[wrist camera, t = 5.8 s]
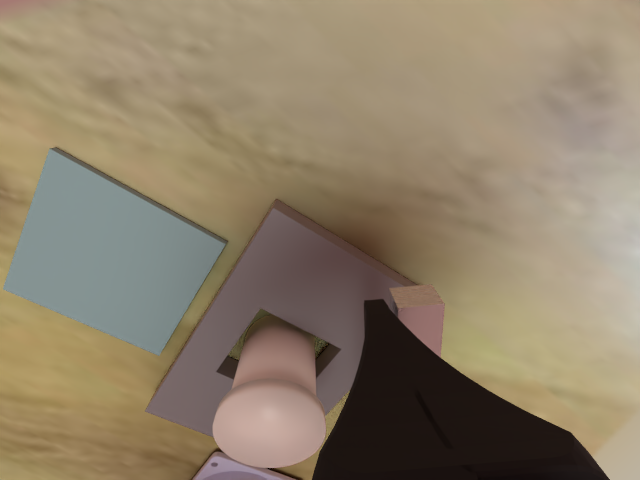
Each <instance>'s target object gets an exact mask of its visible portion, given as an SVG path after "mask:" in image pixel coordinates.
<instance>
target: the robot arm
mask: <svg viewBox="0 0 640 480" xmlns="http://www.w3.org/2000/svg"><path fill="white" fill-rule="evenodd" d="M364 333H365V339H364V344H363V349H362V354H361V358H360V362H359V366H358V369H357V373H356V376H355V379H354V382H353V384H352V387H351V390H350V393H349V395H348V398H347V400H346V402H345V405H344V407H343V409H342V411H341V413H340V415H339V418H338V420H337V422H336V424H335V426H334V428H333V430H332V431H331V433H330V435H329V437H328V439H327V440H326V442H325V444H324V446H323V447H322V449H321V451H320V453H319V457H318V460H317V464H316V467H315V470H314V474H313V478H312V480H610V479H609V478H608V477H607V476H606V474H605V473H604V472H603V470H602V469H601V468H600V467H599V465H598V464H597V463H596V461H595V460H594V459H593V458H592V456H591V455H590V454H589V452H588V451H587V450H586V449H585V448H584V447H583V446H582V444H581V443H580V442H579V441H578V440H577V439H576V438H575V437H574V435H573V434H572V433H571V432H569V431H567V430H564V429H562V428H560V427H558V426H556V425H554V424H552V423H550V422H547V421H545V420H543V419H541V418H539V417H537V416H535V415H533V414H530V413H528V412H526V411H524V410H522V409H521V408H519V407H517V406H515V405H513V404H511V403H510V402H508V401H506V400H504V399H502V398H500V397H499V396H497V395H495V394H493V393H492V392H490V391H488V390H487V389H485V388H483V387H482V386H480V385H479V384H477V383H476V382H474V381H472V380H471V379H469V378H468V377H466V376H465V375H463V374H462V373H460V372H459V371H457V370H456V369H455V368H453V367H452V366H451V365H449V364H448V363H447V362H445V361H444V360H443V359H441V358H440V357H439V356H438V355H437V354H435V353H434V352H433V351H432V350H431V349H430V348H428V347H427V346H426V345H425V344H424V343H423V342H422V341H421V340H419V339H418V338H417V337H416V336H415V335H414V334H413V333H412V332H411V331H410V330H409V329H408V328H407V327H406V326H405V325H404V324H403V323H402V322H401V321H400V320H399V318H398V317H397V316H396V315H395V314H394V313H393V312H392V311H391V310H390V308H389V307H388V305H387V304H386V302H385V301H384V299H376V300H364ZM192 480H296V479H293V478H291V477H288V476H285V475H282V474H280V473H277V472H274V471H271V470H269V469H266V468H261V467H254V466H250V465H246V464H243V463H241V462H238V461H236V460H234V459H233V458H231V457H229V456H228V455H227V454H225V453H222V452H214V453H213V454H212V455H211V456H210V458H209V459H208V460H207V461H206V463H205V464H204V465H203V466H202V468H201V469H200V470H199V471H198V473H197V474H196V475H195V476H194V478H193V479H192Z"/></svg>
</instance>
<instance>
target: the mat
mask: <svg viewBox="0 0 640 480" xmlns="http://www.w3.org/2000/svg"><path fill="white" fill-rule="evenodd" d="M226 243H227V241H226V240H224V239H222V238H220V237H218V236H216V235H215V234H213V233H211V232H209V231H207V230H206V229H204V228H202V227H200V226H198V225H196V224H195V223H193V222H191V221H189V220H187V219H185V218H184V217H182V216H180V215H178V214H176V213H175V212H173V211H171V210H169V209H167V208H165V207H164V206H162V205H160V204H158V203H156V202H154V201H153V200H151V199H149V198H147V197H145V196H144V195H142V194H140V193H138V192H136V191H134V190H133V189H131V188H129V187H127V186H125V185H123V184H122V183H120V182H118V181H116V180H114V179H113V178H111V177H109V176H107V175H105V174H103V173H102V172H100V171H98V170H96V169H94V168H92V167H91V166H89V165H87V164H85V163H83V162H82V161H80V160H78V159H76V158H74V157H72V156H71V155H69V154H67V153H65V152H63V151H61V150H60V149H58V148H50V149H49V152H48V155H47V158H46V161H45V164H44V167H43V170H42V173H41V176H40V179H39V182H38V185H37V188H36V191H35V194H34V197H33V200H32V203H31V206H30V209H29V212H28V215H27V218H26V221H25V224H24V227H23V230H22V233H21V236H20V239H19V242H18V245H17V248H16V251H15V254H14V257H13V260H12V263H11V266H10V269H9V272H8V275H7V278H6V281H5V284H4V287H3V289H4V290H6V291H8V292H11V293H13V294H15V295H18V296H20V297H22V298H25V299H27V300H29V301H32V302H34V303H36V304H39V305H41V306H43V307H46V308H48V309H50V310H53V311H55V312H57V313H60V314H62V315H65V316H67V317H69V318H72V319H74V320H76V321H79V322H81V323H83V324H86V325H88V326H90V327H93V328H95V329H97V330H100V331H102V332H104V333H107V334H109V335H111V336H114V337H116V338H118V339H121V340H123V341H126V342H128V343H130V344H133V345H135V346H137V347H140V348H142V349H144V350H147V351H149V352H151V353H154V354H156V355H158V356H159V355H160V353H161V352H162V350H163V348H164V347H165V345H166V343H167V342H168V340H169V338H170V337H171V335H172V333H173V332H174V330H175V328H176V327H177V325H178V323H179V322H180V320H181V318H182V317H183V315H184V313H185V312H186V310H187V308H188V307H189V305H190V303H191V301H192V300H193V298H194V296H195V295H196V293H197V291H198V290H199V288H200V286H201V285H202V283H203V281H204V280H205V278H206V276H207V275H208V273H209V271H210V270H211V268H212V266H213V265H214V263H215V261H216V260H217V258H218V256H219V255H220V253H221V251H222V250H223V248H224V246H225V245H226Z"/></svg>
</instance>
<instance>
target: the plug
mask: <svg viewBox="0 0 640 480" xmlns="http://www.w3.org/2000/svg"><path fill="white" fill-rule="evenodd" d="M325 434H326V424H325V412H324V408H323V405H322V403H321V402H320V400H319V399H318V398H317V396H316V368H315V339H314V335H313V334H311V333H309V332H307V331H305V330H303V329H301V328H299V327H297V326H295V325H293V324H291V323H289V322H287V321H285V320H283V319H281V318H279V317H277V316H275V315H268V316H265V317H262V318H260V319H259V320H257V321H256V322H254V323H253V324H252V325H251V327H250V328H249V329H248V331H247V334H246V337H245V341H244V344H243V348H242V352H241V356H240V359H239V363H238V367H237V371H236V374H235V378H234V382H233V385H232V389H231V390H230V391H229V392H228V393H227V394H226V395H225V396H224V397H223V398H222V400H221V401H220V403H219V406H218V408H217V412H216V415H215V418H214V422H213V436H214V439H215V442H216V443H217V445H218V446H219V448H220V449H221V450H222V451H223V452H224V453H225V454H227V455H228V456H229V457H231V458H233V459H234V460H236V461H238V462H241V463H243V464H246V465H250V466H254V467H261V468H279V467H286V466H290V465H294V464H297V463H299V462H301V461H303V460H305V459H307V458H309V457H310V456H312V455H313V454H314V453H315V452H316V451H317V450H318V449H319V448H320V446H321V445H322V443H323V441H324V438H325Z"/></svg>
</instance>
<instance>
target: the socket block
mask: <svg viewBox="0 0 640 480" xmlns="http://www.w3.org/2000/svg"><path fill="white" fill-rule="evenodd" d="M408 286H418V285H416V284H415V283H413V282H412V281H410V280H408V279H407V278H405V277H403V276H402V275H400V274H398V273H397V272H395V271H394V270H392V269H390V268H389V267H387V266H385V265H384V264H382V263H380V262H379V261H377V260H375V259H374V258H372V257H371V256H369V255H367V254H366V253H364V252H362V251H361V250H359V249H357V248H356V247H354V246H353V245H351V244H349V243H348V242H346V241H344V240H343V239H341V238H339V237H338V236H336V235H334V234H333V233H331V232H330V231H328V230H326V229H325V228H323V227H321V226H320V225H318V224H316V223H315V222H313V221H312V220H310V219H308V218H307V217H305V216H303V215H302V214H300V213H298V212H297V211H295V210H294V209H292V208H290V207H289V206H287V205H285V204H284V203H282V202H280V201H279V200H277V199H276V200H275V202H274V203H273V205H272V206H271V208H270V210H269V211H268V213H267V214H266V216H265V218H264V219H263V221H262V222H261V224H260V225H259V227H258V229H257V230H256V232H255V233H254V235H253V237H252V238H251V240H250V241H249V243H248V245H247V246H246V248H245V249H244V251H243V253H242V254H241V256H240V257H239V259H238V261H237V262H236V264H235V265H234V267H233V269H232V270H231V272H230V273H229V275H228V276H227V278H226V280H225V281H224V283H223V284H222V286H221V288H220V289H219V291H218V292H217V294H216V296H215V297H214V299H213V300H212V302H211V304H210V305H209V307H208V308H207V310H206V312H205V313H204V315H203V316H202V318H201V319H200V321H199V323H198V324H197V326H196V327H195V329H194V331H193V332H192V334H191V335H190V337H189V339H188V340H187V342H186V343H185V345H184V347H183V348H182V350H181V351H180V353H179V355H178V356H177V358H176V359H175V361H174V363H173V364H172V366H171V367H170V369H169V370H168V372H167V374H166V375H165V377H164V378H163V380H162V382H161V383H160V385H159V386H158V388H157V390H156V391H155V393H154V395H153V397H152V399H151V401H150V402H149V404H148V406H147V408H146V410H145V412H148V413H150V414H153V415H156V416H158V417H161V418H164V419H166V420H169V421H172V422H174V423H177V424H180V425H182V426H185V427H187V428H190V429H193V430H195V431H198V432H201V433H203V434H206V435H209V436H211V437H214V436H213V422H214V418H215V415H216V412H217V408H218V406H219V403H220V401H221V400H222V398H223V397H224V396H225V395H226V394H227V393H228V392H229V391H230V390H231V389H232V385H233V382H234V378H235V374H236V371H237V367H238V363H239V361H237V360H235V359H233V358H230V357H228V356H227V355H228V354H229V352H230V351H231V350H232V348H233V347H234V345H235V344H236V342H237V341H238V340H239V338H240V337H241V335H242V334H243V332H244V331H245V330H246V328H247V327H248V325H249V324H250V323H251V321H252V320H253V318H254V317H255V315H256V314H257V313H258V311H259V310H260V308H261V309H263V310H265V311H267V312H269V313H271V314H273V315H275V316H277V317H279V318H281V319H283V320H285V321H287V322H289V323H291V324H293V325H295V326H297V327H299V328H301V329H303V330H305V331H307V332H309V333H311V334H313V335H315V336H317V337H319V338H320V339H322V340H324V341H326V342H328V343H330V344H329V345H328V346H327V347H326V349H325V350H324V351H323V352H322V353H321V355H320V356H319V357H318V358H317V359H316V361H315V368H316V396H317V398H318V399H319V400H320V402H321V403H322V405H323V408H324V412H325V416H326V415H327V413H328V412H329V411H330V410H331V409H332V408H333V407H334V406H335V405H336V404H337V403H338V402H339V401H340V399H341V398H342V397H343V396H344V395H345V394H346V393H347V392H348V391H349V390H350V389H351V387H352V384H353V382H354V379H355V376H356V373H357V369H358V366H359V362H360V358H361V354H362V349H363V344H364V339H365V333H364V300H376V299H384V301H385V302H386V304H387V305H388V307H389V288H397V287H408Z"/></svg>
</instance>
